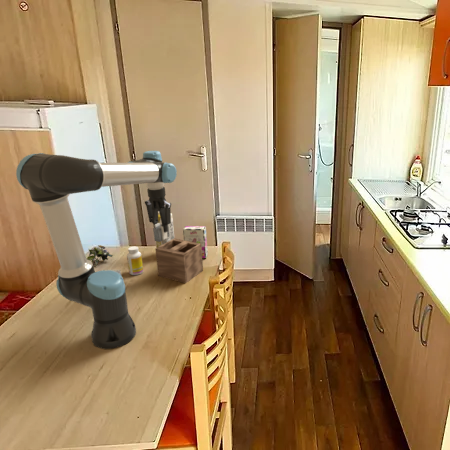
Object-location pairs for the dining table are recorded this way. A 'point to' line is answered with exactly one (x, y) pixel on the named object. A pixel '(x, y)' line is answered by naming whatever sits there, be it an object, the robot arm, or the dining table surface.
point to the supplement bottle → (134, 261)
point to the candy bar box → (197, 237)
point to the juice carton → (171, 232)
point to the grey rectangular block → (159, 233)
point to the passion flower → (98, 254)
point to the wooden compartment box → (179, 260)
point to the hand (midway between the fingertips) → (161, 237)
